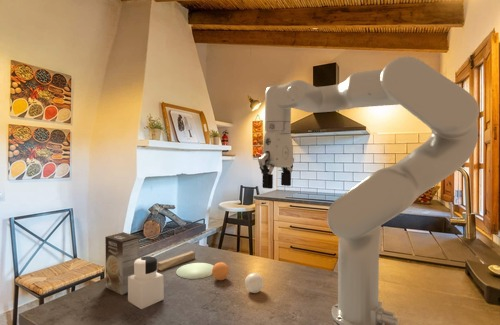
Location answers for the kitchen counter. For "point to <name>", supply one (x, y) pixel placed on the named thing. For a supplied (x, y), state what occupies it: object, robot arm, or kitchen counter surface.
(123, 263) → the coffee box
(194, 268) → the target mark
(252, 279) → the cue ball
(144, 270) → the medicine bottle
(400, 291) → the kitchen counter surface
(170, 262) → the rail
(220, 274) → the object ball
